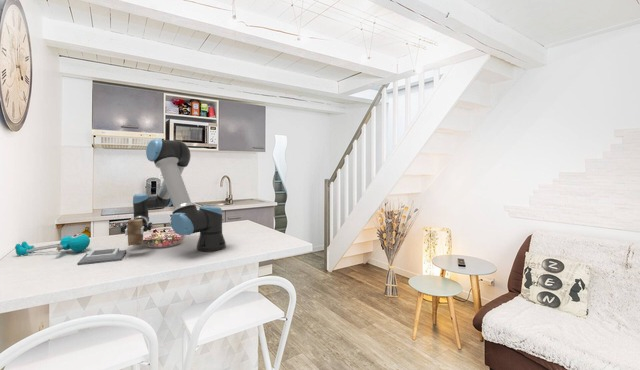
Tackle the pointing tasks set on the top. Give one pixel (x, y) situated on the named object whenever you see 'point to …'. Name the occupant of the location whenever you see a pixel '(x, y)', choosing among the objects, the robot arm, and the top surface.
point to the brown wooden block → (135, 232)
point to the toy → (58, 245)
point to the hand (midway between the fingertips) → (134, 232)
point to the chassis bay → (102, 256)
